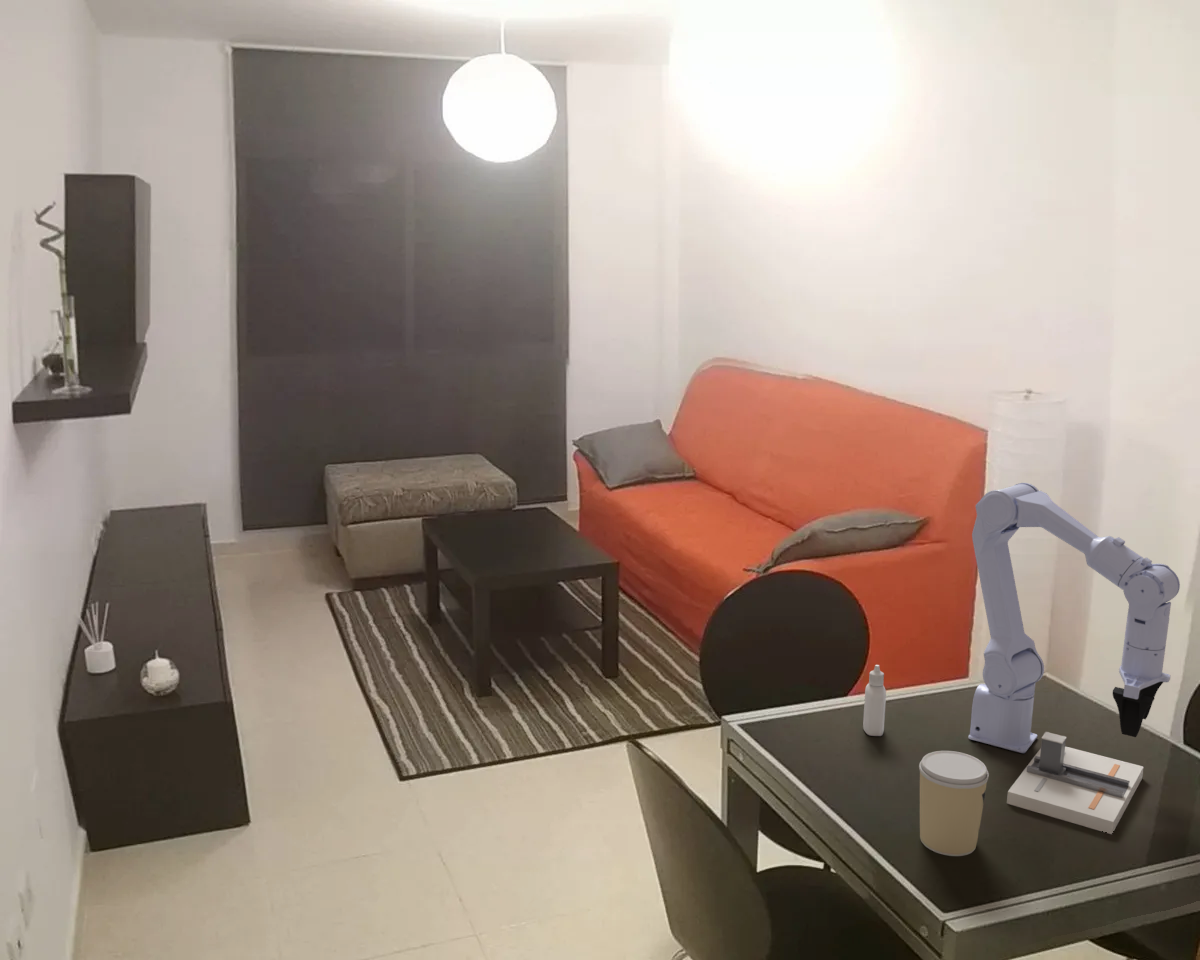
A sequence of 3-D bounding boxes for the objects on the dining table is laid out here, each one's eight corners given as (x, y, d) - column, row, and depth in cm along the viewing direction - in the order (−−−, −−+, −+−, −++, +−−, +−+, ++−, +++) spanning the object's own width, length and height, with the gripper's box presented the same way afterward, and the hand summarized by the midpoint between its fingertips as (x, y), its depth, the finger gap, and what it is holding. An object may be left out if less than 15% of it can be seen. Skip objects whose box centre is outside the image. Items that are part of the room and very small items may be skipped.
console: (1006, 803, 171) (1008, 786, 171) (1044, 752, 188) (1046, 736, 187) (1112, 834, 163) (1114, 816, 162) (1142, 778, 179) (1144, 762, 178)
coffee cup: (996, 853, 157) (1003, 775, 155) (937, 864, 155) (943, 784, 152) (957, 820, 166) (963, 745, 164) (901, 829, 164) (906, 754, 161)
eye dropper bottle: (891, 727, 197) (895, 663, 194) (879, 739, 192) (883, 673, 190) (867, 721, 199) (871, 657, 197) (855, 732, 195) (858, 667, 192)
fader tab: (1035, 770, 177) (1038, 736, 176) (1039, 764, 179) (1043, 731, 178) (1061, 777, 175) (1065, 743, 174) (1066, 771, 177) (1069, 737, 175)
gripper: (1165, 664, 163) (1153, 750, 167) (1181, 635, 175) (1170, 716, 178) (1113, 653, 167) (1102, 737, 171) (1132, 625, 179) (1122, 704, 182)
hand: (1134, 725), depth 175 cm, fingers open, 7 cm apart
